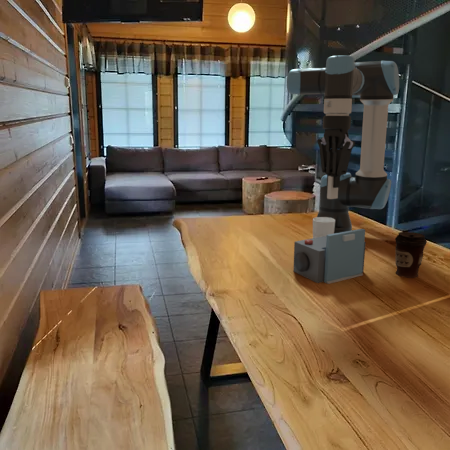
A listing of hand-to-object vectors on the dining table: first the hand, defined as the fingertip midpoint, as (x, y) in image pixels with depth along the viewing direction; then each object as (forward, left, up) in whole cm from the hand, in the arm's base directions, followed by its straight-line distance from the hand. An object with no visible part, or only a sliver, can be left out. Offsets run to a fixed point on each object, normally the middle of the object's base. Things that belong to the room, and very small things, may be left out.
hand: (332, 198), depth 134 cm
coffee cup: (-13, +19, -24) cm, 33 cm away
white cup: (-24, -15, -24) cm, 37 cm away
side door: (+2, +6, -23) cm, 24 cm away
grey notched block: (0, 0, -23) cm, 23 cm away
